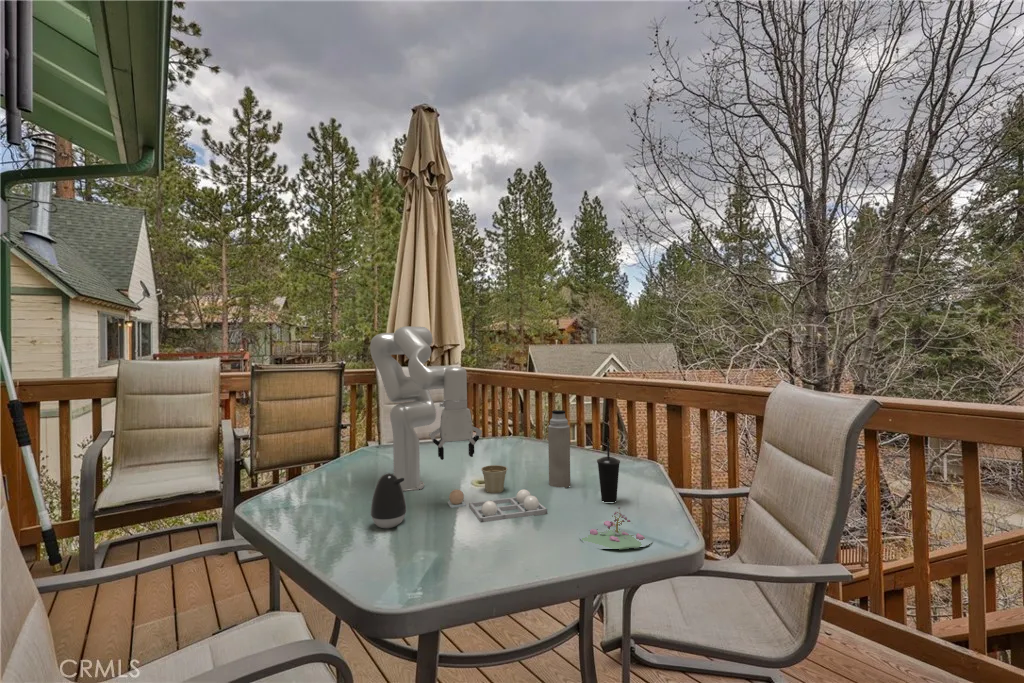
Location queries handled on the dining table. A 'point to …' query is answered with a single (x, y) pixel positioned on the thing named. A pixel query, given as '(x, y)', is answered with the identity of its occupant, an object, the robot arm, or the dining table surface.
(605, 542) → the plant
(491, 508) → the white egg
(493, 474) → the flower pot
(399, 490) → the penguin figurine
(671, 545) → the dining table surface
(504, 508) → the carton
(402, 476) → the robot arm
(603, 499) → the drinking cup
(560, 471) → the thermos bottle
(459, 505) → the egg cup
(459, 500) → the brown egg
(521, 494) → the white egg
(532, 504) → the white egg
